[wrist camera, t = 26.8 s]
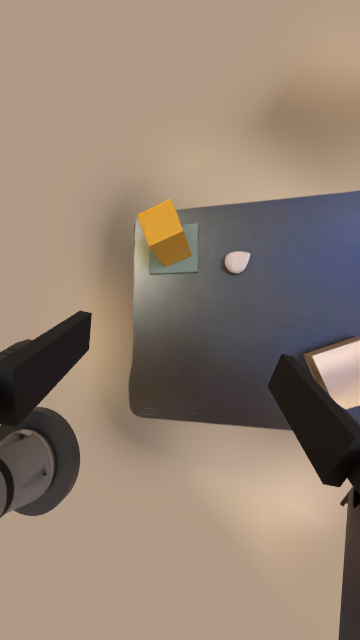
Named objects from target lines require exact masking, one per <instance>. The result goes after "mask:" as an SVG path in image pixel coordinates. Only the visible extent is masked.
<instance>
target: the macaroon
mask: <svg viewBox="0 0 360 640" xmlns="http://www.w3.org/2000/svg"><path fill="white" fill-rule="evenodd" d="M249 258H250V253H246V252H239V251H237V252H232V253H229V254H228V255H227V256H226V258H225V266H226V268H227V270H228V271H229V272H231V273H233V274H239V273H241V272H242V271H243V270H244V269H245V268H246V266H247V263H248V261H249Z"/></svg>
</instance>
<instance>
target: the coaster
mask: <svg viewBox="0 0 360 640" xmlns="http://www.w3.org/2000/svg"><path fill="white" fill-rule="evenodd" d="M181 226H182V229H183V231H184V234H185V237H186V239H187V242H188V245H189V248H190V251H191V253H192V256H190V257H188V258H186V259H183V260H181V261H179V262H177V263H174V264H172V265H170V266H167V267H165V266H164V265H163V264H162V263H161V261H160V260H159V259H158V258H157V256H156V255H155V254H154V253H153V251H152V250H151V251H150V274H151V275H155V274H178V273H198V224H188V225H181Z"/></svg>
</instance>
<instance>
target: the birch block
mask: <svg viewBox="0 0 360 640" xmlns="http://www.w3.org/2000/svg"><path fill="white" fill-rule="evenodd" d="M303 356H304V358H305V360H306V363H307V365H308V367H309V369H310V372H311V374H312V376H313V378H314V380H315V381H316V382H317V383H318V384H319V385H320V386H321V387H322V388H323V389H324V390H325V391H326V392H327V393H328V394H329V395H330V396H331V398H332V399H333V400H334V401H335V402H336V403H337V404H339V405H340V406H341V407H343V408H344V409H349V408H352V407H356V406H359V405H360V337H353V338H350V339H347V340H344V341H341V342H338V343H335V344H332V345H329V346H326V347H323V348H320V349H317V350H313V351H310V352H307V353H304V354H303Z"/></svg>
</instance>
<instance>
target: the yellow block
mask: <svg viewBox="0 0 360 640" xmlns="http://www.w3.org/2000/svg"><path fill="white" fill-rule="evenodd" d="M138 218H139V221H140V224H141V226H142V229H143V232H144V235H145V238H146V240H147V243H148V246H149V248H150V249H151V250H152V251H153V253H154V254H155V255H156V256H157V258H158V259H159V260H160V261H161V263H162V264H163V265H164V266H165V267H167V266H170V265H172V264H174V263H177V262H179V261H181V260H183V259H186V258H188V257H190V256H192V253H191V251H190V248H189V245H188V242H187V239H186V237H185V234H184V231H183V229H182V226H181V223H180V221H179V218H178V216H177V213H176V211H175V208H174V206H173V203H172V200H171V199H169V200H167V201H164V202H162V203H161V204H158V205H156V206H154V207H152V208H150V209H148V210H146V211H144V212H142V213H140V214H138Z"/></svg>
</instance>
